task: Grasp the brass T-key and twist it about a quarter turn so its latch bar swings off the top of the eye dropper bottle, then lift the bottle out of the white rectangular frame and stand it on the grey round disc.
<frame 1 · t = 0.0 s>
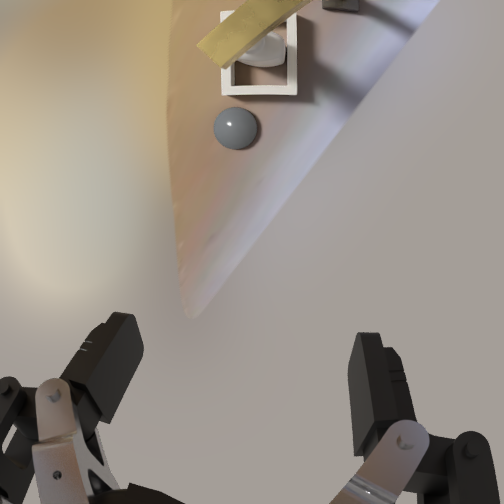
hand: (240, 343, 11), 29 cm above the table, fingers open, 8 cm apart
eye dropper bottle: (261, 53, 31), resting in white rectangular frame
grey round disc: (235, 127, 35), on the table
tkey: (302, 3, 21), point 8 cm above the table, hinge at 0.0°
white rectangular frame: (260, 53, 30), on the table
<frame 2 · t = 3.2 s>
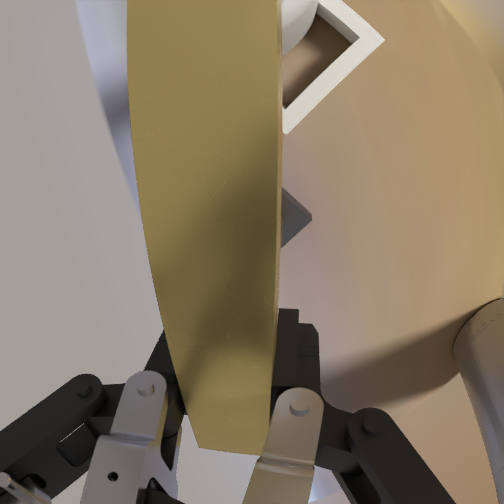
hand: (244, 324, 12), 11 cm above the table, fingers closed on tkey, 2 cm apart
eye dropper bottle: (270, 33, 16), resting in white rectangular frame
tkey: (253, 145, 12), point 8 cm above the table, hinge at 0.0°, touching gripper
key plate: (269, 214, 21), on the table
white rectangular frame: (269, 33, 16), on the table
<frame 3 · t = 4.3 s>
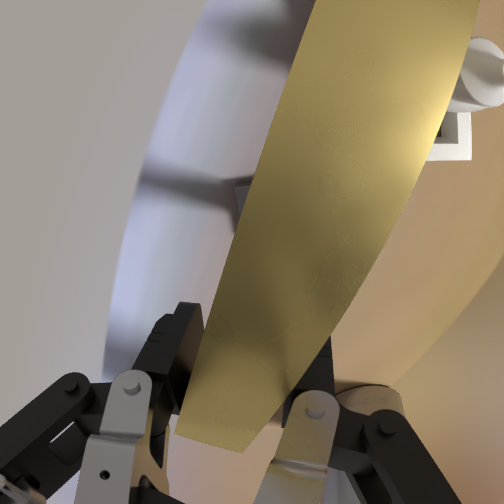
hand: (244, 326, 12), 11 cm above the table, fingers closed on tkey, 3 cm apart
eye dropper bottle: (394, 76, 16), resting in white rectangular frame
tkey: (307, 144, 11), point 8 cm above the table, hinge at 20.7°, touching gripper
key plate: (271, 207, 21), on the table
white rectangular frame: (395, 76, 16), on the table
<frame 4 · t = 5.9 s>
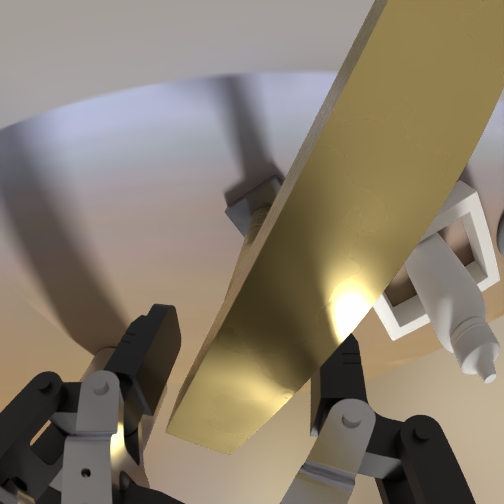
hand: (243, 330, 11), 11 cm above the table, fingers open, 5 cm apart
eye dropper bottle: (422, 255, 21), resting in white rectangular frame
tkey: (318, 161, 11), point 8 cm above the table, hinge at 78.0°
key plate: (268, 214, 21), on the table
white rectangular frame: (423, 256, 21), on the table
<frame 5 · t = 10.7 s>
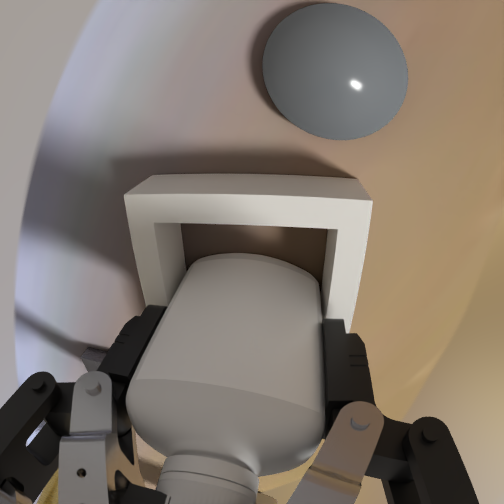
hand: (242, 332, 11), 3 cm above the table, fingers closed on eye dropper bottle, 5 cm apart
eye dropper bottle: (254, 283, 14), resting in white rectangular frame, touching gripper
grey round disc: (335, 70, 9), on the table
key plate: (120, 373, 19), on the table
white rectangular frame: (253, 285, 14), on the table
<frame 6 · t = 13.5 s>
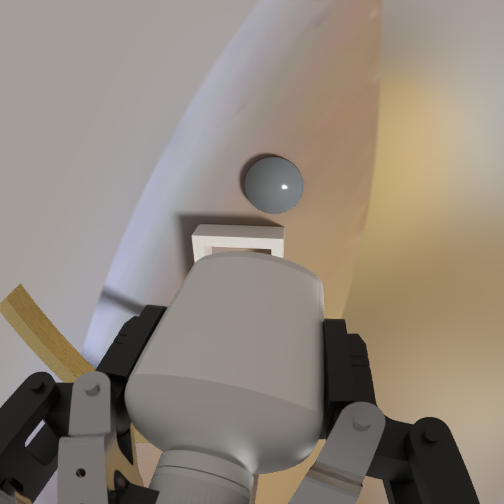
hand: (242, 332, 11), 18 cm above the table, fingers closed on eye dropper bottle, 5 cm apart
eye dropper bottle: (258, 281, 14), point 15 cm above the table, touching gripper
grey round disc: (274, 184, 27), on the table
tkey: (107, 332, 28), point 8 cm above the table, hinge at 78.0°
white rectangular frame: (242, 271, 32), on the table
when the fingers open (4 cm above the table, at t = 16.4 s): eye dropper bottle stays where it is, resting on grey round disc.
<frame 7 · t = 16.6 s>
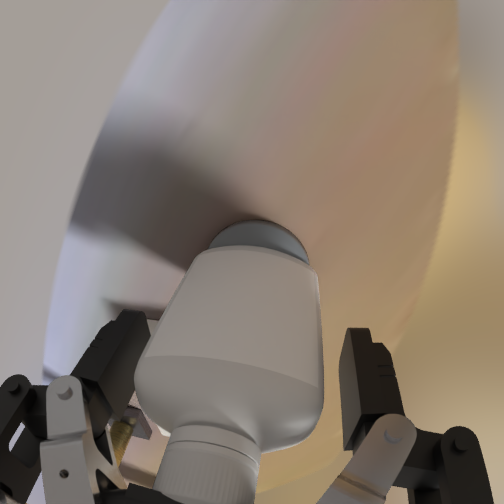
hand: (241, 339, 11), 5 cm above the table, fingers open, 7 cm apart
eye dropper bottle: (255, 275, 15), resting on grey round disc
grey round disc: (256, 268, 15), on the table
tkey: (39, 447, 16), point 8 cm above the table, hinge at 78.0°
key plate: (127, 416, 25), on the table
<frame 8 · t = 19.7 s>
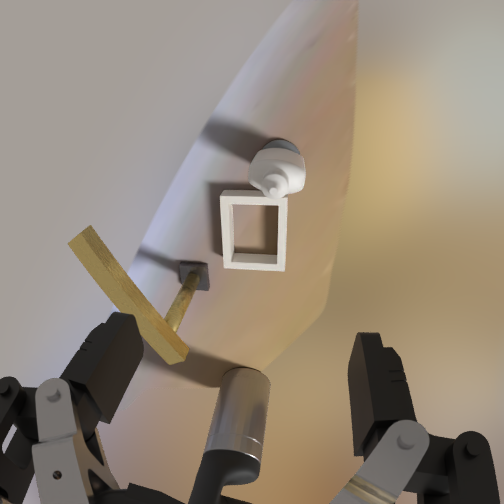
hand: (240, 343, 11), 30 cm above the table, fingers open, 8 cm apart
eye dropper bottle: (279, 161, 37), resting on grey round disc
grey round disc: (280, 159, 37), on the table
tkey: (150, 272, 37), point 8 cm above the table, hinge at 78.0°
key plate: (195, 274, 47), on the table
white rectangular frame: (255, 226, 42), on the table
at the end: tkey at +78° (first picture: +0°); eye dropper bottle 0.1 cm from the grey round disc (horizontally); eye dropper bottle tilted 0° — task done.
